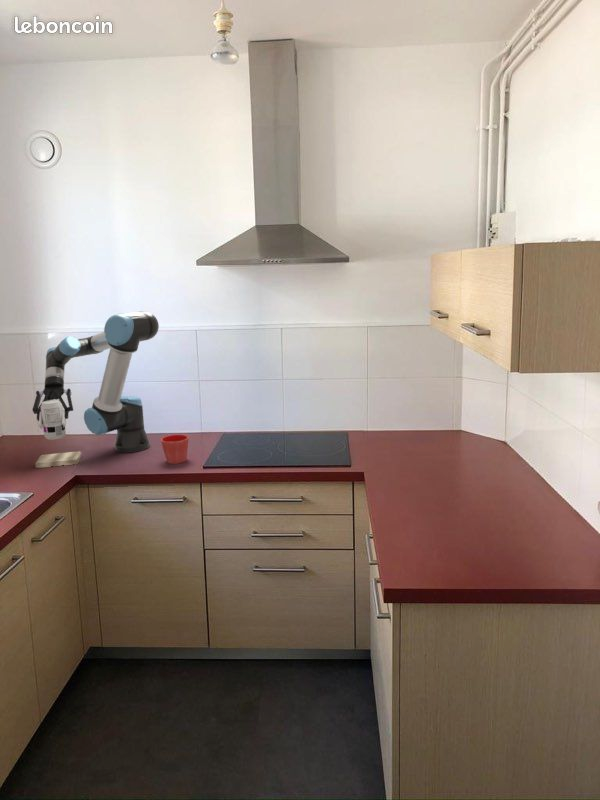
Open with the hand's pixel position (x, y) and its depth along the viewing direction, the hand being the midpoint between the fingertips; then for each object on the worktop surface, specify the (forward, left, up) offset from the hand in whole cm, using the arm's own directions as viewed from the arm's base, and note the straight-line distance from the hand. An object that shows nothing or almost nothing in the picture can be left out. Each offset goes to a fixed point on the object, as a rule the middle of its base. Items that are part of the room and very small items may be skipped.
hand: (52, 425), depth 251 cm
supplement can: (0, -3, -6) cm, 7 cm away
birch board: (0, -3, -16) cm, 17 cm away
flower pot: (-48, +12, -16) cm, 52 cm away
